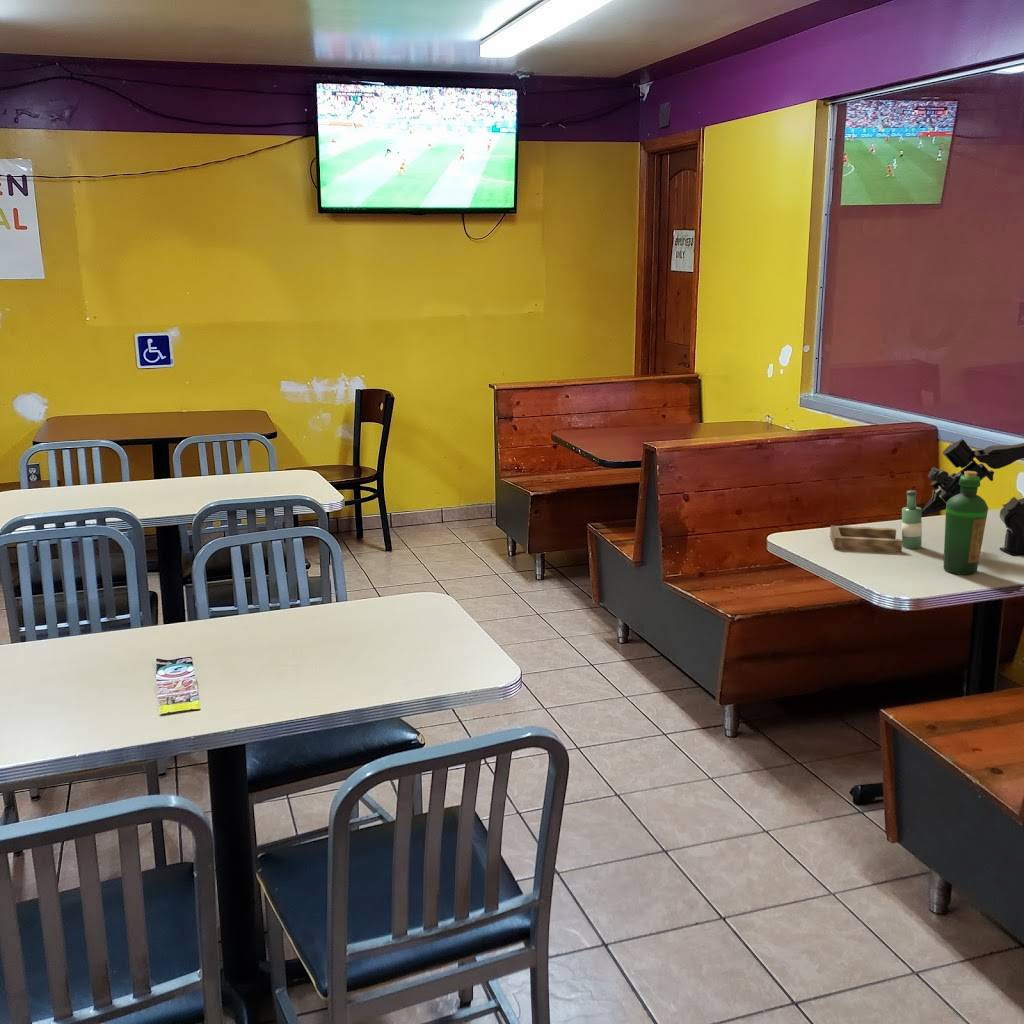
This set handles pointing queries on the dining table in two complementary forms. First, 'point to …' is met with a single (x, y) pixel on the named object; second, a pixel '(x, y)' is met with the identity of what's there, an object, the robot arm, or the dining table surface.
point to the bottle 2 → (964, 527)
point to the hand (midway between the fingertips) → (922, 513)
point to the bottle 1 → (911, 522)
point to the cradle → (865, 539)
